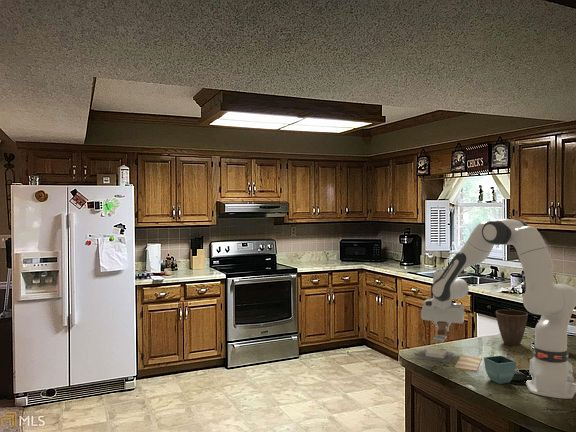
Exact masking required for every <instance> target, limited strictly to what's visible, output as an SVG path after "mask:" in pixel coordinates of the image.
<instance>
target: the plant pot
mask: <svg viewBox="0 0 576 432" xmlns="http://www.w3.org/2000/svg"><path fill="white" fill-rule="evenodd" d="M528 315H529V314H528V312H526V311H522V310H515V309H498V310H496V311H495V316H496V322H497V326H498V330H499V333H500V336H501V339H502V342H503V344H505V345H506V346H507V345H508V346H512V347H513V346H517V347H518V346H520V345H521V343H522V340H523V337H524V335H525V331H526V328H527V327H526V326H527V322H528V317H529V316H528Z"/></svg>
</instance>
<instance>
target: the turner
mask: <svg viewBox="0 0 576 432" xmlns="http://www.w3.org/2000/svg"><path fill="white" fill-rule="evenodd" d="M437 325H438V330H437V331H438V332H437V333H438V334H437V333H436V334H435V335H434V336H433V338H432V339H431V342H434V343H442V344H443V343H444V341H445V340H446V339H447V338H448V336H447V331H445V327H447V322H440V321H437Z"/></svg>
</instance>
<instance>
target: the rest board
mask: <svg viewBox="0 0 576 432" xmlns="http://www.w3.org/2000/svg"><path fill="white" fill-rule="evenodd" d="M482 360H483V357H482V356H474V355H468V354H467V355H465V354H461V355H460V357H458V360H457V362H456V364H455V366H454V370H458V371H459V370H461V371H467V372H474V373H477V372H478V369H479V366H480V364H481V361H482Z"/></svg>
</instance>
